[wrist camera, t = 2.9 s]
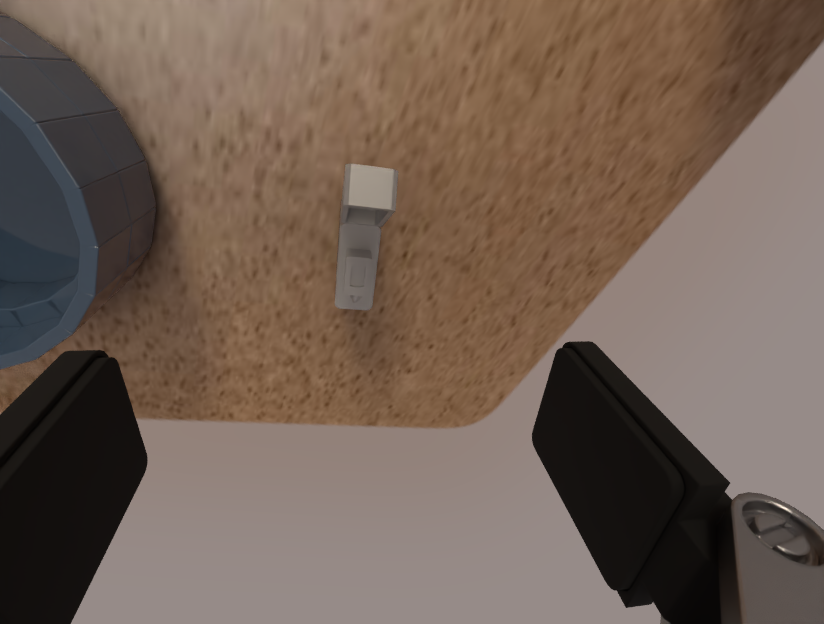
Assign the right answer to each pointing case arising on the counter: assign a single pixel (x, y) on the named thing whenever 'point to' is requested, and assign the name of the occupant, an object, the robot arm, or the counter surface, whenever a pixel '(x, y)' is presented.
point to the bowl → (62, 197)
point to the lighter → (362, 232)
